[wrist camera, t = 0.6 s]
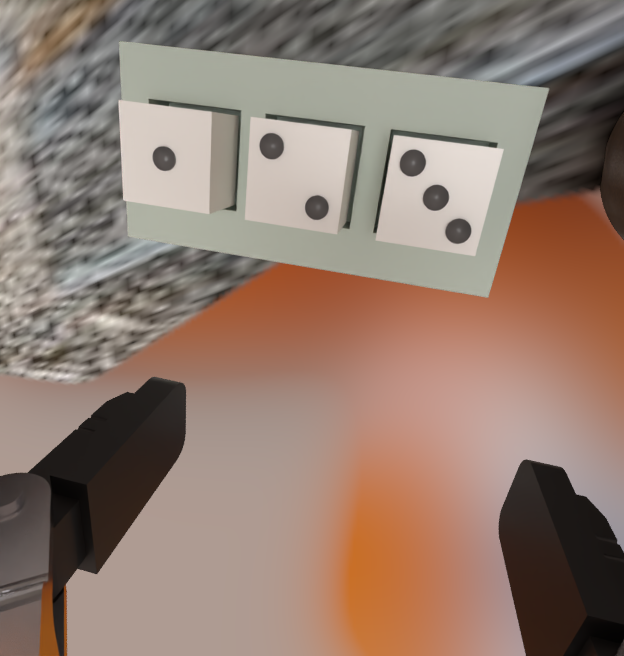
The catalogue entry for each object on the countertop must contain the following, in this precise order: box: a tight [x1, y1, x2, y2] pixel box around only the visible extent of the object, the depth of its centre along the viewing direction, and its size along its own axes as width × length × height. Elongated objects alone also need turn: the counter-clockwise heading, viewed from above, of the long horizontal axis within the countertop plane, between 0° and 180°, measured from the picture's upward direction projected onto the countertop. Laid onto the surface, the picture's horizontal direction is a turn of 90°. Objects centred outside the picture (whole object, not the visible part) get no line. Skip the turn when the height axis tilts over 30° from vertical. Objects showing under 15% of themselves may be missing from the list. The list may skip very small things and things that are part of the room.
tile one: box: [119, 100, 239, 214], centre depth 25 cm, size 5×5×4 cm
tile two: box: [245, 117, 360, 234], centre depth 24 cm, size 5×5×4 cm
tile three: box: [375, 135, 504, 256], centre depth 23 cm, size 5×5×4 cm
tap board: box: [119, 41, 549, 297], centre depth 27 cm, size 11×23×4 cm, turn 83°
